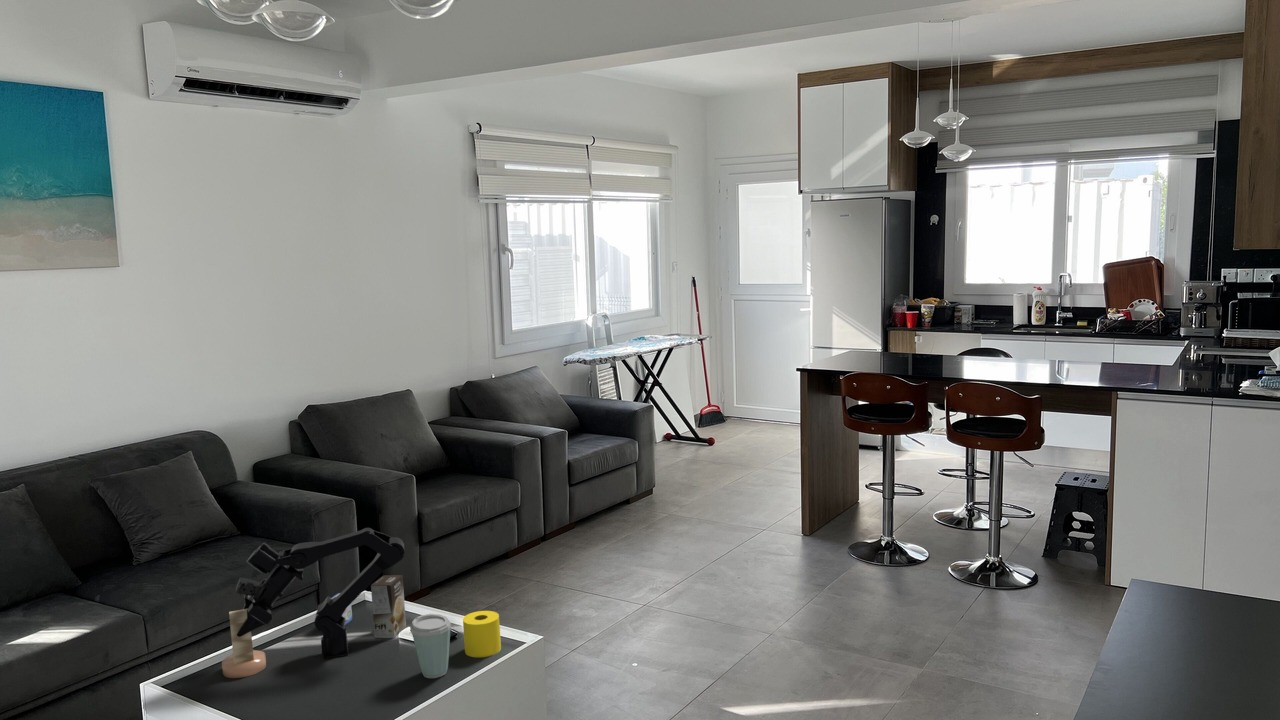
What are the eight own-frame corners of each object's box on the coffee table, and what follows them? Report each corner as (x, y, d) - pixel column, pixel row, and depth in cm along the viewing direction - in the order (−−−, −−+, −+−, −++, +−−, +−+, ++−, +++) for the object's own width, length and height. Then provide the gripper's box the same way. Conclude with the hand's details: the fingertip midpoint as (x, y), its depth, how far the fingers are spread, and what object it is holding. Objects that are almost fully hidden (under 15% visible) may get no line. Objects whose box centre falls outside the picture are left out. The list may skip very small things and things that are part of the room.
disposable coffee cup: (462, 667, 254) (458, 613, 253) (441, 685, 244) (437, 629, 243) (427, 663, 258) (424, 610, 256) (405, 680, 248) (401, 625, 246)
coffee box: (394, 638, 276) (390, 585, 274) (374, 638, 277) (369, 585, 275) (406, 626, 285) (402, 574, 283) (386, 625, 286) (382, 574, 284)
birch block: (253, 653, 263) (248, 608, 261) (253, 660, 258) (249, 614, 257) (233, 657, 261) (229, 611, 259) (234, 663, 256) (229, 617, 255)
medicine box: (339, 630, 284) (337, 602, 283) (326, 629, 285) (324, 601, 284) (352, 620, 292) (350, 592, 291) (339, 619, 293) (337, 592, 292)
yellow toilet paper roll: (478, 640, 272) (476, 609, 271) (507, 645, 268) (505, 613, 267) (457, 654, 263) (455, 621, 262) (487, 659, 259) (485, 626, 258)
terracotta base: (268, 658, 266) (267, 647, 266) (263, 674, 256) (262, 663, 255) (226, 664, 263) (225, 653, 263) (219, 680, 253) (218, 670, 253)
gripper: (250, 558, 267) (211, 603, 263) (254, 577, 250) (212, 626, 246) (282, 579, 271) (245, 624, 267) (288, 600, 254) (248, 648, 251)
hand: (237, 630), depth 258 cm, fingers open, 9 cm apart
